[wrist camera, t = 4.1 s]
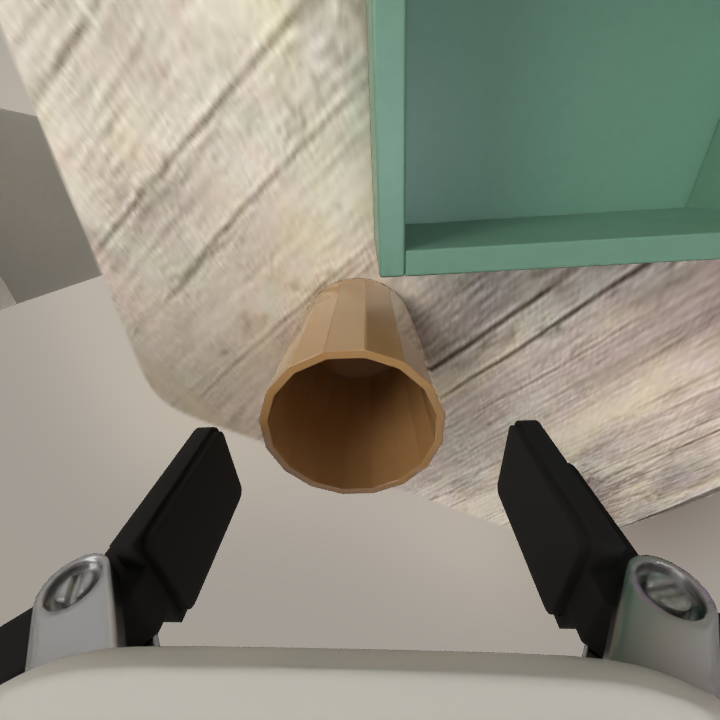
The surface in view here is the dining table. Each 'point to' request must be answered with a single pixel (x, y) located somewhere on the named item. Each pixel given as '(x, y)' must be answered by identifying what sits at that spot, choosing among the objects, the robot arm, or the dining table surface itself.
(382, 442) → the paper cup
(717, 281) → the dining table surface
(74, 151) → the dining table surface
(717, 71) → the bin
